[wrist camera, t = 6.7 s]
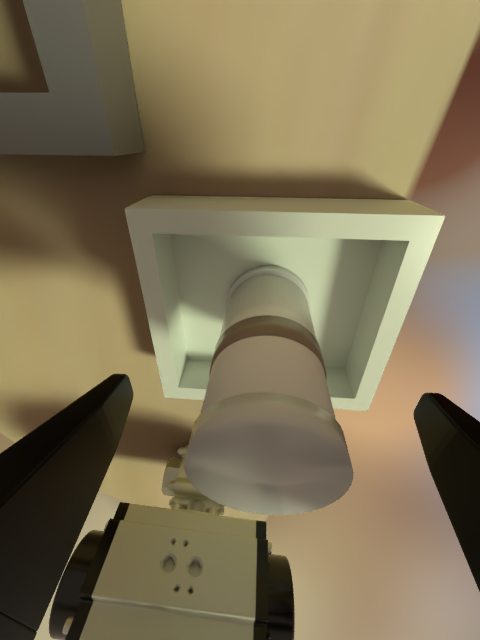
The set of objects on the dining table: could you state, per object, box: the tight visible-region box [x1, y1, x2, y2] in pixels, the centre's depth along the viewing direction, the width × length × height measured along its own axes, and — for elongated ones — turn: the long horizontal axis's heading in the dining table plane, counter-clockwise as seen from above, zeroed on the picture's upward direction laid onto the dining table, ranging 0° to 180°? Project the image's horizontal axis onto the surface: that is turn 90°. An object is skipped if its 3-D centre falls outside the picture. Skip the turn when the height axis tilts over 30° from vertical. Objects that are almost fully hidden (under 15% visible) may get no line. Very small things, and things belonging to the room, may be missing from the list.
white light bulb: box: [184, 265, 353, 515], centre depth 10 cm, size 4×4×8 cm
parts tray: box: [124, 195, 445, 411], centre depth 12 cm, size 10×9×3 cm
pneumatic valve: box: [49, 445, 294, 640], centre depth 17 cm, size 6×12×12 cm, turn 84°
